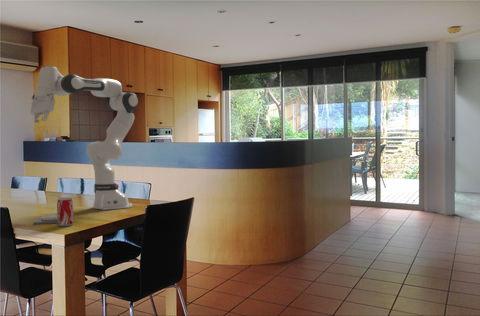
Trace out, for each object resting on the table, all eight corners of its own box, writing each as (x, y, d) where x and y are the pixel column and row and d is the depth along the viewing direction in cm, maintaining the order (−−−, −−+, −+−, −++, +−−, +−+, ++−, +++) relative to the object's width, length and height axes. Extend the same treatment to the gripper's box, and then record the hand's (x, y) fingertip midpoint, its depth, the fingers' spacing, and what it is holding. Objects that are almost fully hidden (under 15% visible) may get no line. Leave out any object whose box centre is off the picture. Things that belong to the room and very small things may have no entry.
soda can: (54, 226, 199) (53, 199, 198) (65, 223, 206) (64, 197, 205) (65, 227, 197) (65, 200, 196) (76, 224, 203) (76, 197, 203)
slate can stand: (71, 216, 222) (71, 212, 221) (66, 222, 207) (66, 218, 207) (40, 218, 218) (40, 214, 218) (33, 224, 203) (33, 220, 203)
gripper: (59, 94, 212) (55, 120, 210) (42, 100, 226) (38, 125, 223) (47, 90, 207) (42, 117, 205) (30, 97, 221) (26, 122, 219)
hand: (40, 121), depth 214 cm, fingers open, 8 cm apart
